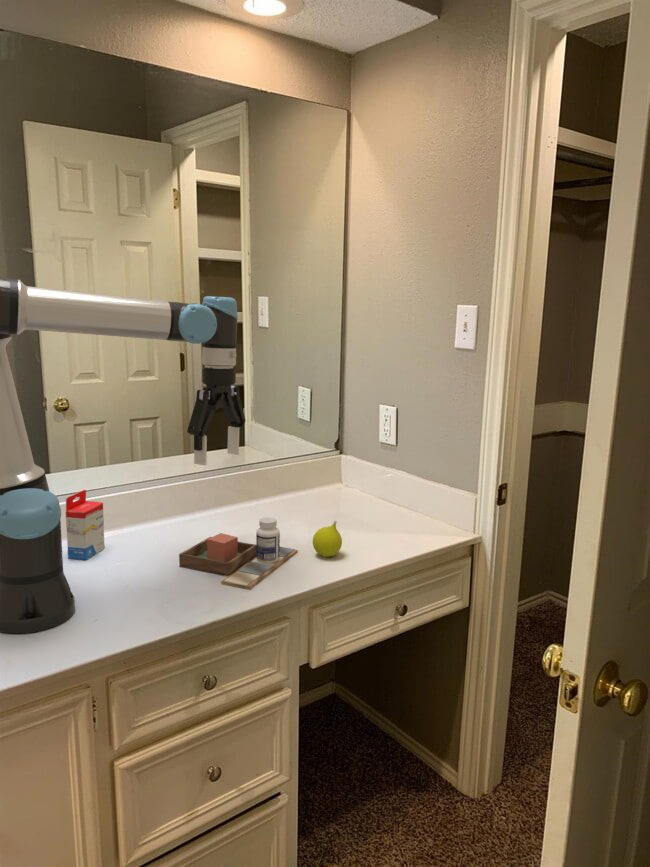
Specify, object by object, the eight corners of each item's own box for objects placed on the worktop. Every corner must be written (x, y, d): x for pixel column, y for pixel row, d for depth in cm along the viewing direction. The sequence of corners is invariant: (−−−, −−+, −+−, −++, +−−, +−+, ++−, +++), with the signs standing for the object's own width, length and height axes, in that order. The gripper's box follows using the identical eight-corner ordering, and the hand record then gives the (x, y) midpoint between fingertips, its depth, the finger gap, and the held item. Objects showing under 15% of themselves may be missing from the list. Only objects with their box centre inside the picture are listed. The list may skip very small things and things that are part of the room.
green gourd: (346, 558, 157) (348, 518, 156) (320, 563, 154) (321, 522, 152) (332, 548, 164) (334, 510, 162) (307, 552, 160) (308, 513, 159)
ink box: (86, 561, 152) (83, 500, 149) (67, 558, 153) (64, 498, 150) (105, 548, 160) (103, 490, 157) (87, 546, 161) (84, 488, 158)
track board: (249, 589, 139) (249, 586, 139) (221, 583, 141) (221, 580, 141) (297, 552, 160) (297, 549, 160) (272, 547, 163) (272, 544, 163)
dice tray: (228, 576, 145) (228, 563, 145) (179, 566, 150) (179, 554, 149) (256, 556, 157) (256, 545, 156) (210, 548, 162) (210, 536, 161)
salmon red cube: (223, 543, 150) (237, 537, 154) (207, 539, 152) (221, 533, 157) (223, 564, 151) (237, 557, 155) (207, 559, 153) (221, 552, 158)
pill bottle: (264, 553, 157) (265, 514, 155) (283, 558, 154) (284, 518, 153) (251, 560, 152) (251, 520, 150) (270, 565, 150) (271, 524, 148)
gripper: (201, 371, 135) (199, 471, 138) (261, 365, 157) (258, 451, 161) (171, 368, 137) (170, 466, 141) (234, 363, 160) (232, 448, 164)
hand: (217, 459), depth 151 cm, fingers open, 13 cm apart
